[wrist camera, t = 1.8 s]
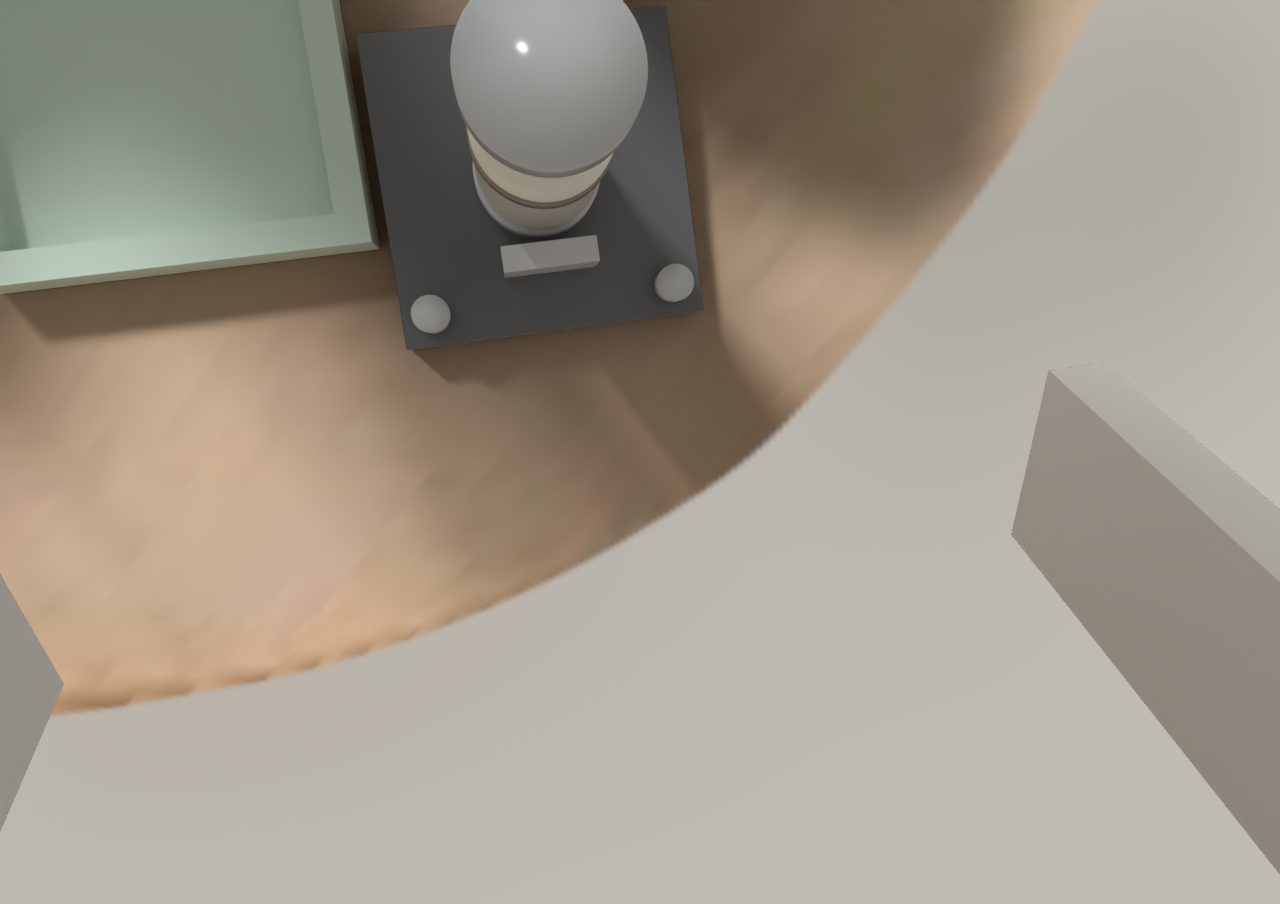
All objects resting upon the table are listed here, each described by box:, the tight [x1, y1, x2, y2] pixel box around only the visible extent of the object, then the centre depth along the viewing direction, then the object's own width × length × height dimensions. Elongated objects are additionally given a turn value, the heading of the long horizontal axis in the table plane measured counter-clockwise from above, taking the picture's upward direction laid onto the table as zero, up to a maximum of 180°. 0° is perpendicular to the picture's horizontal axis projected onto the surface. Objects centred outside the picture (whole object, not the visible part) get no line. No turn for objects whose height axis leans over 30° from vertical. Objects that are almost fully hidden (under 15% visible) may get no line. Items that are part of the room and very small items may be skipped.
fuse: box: [450, 0, 648, 239], centre depth 25 cm, size 4×4×12 cm
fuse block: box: [356, 6, 703, 350], centre depth 31 cm, size 10×10×4 cm
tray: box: [0, 0, 380, 294], centre depth 30 cm, size 12×12×2 cm
